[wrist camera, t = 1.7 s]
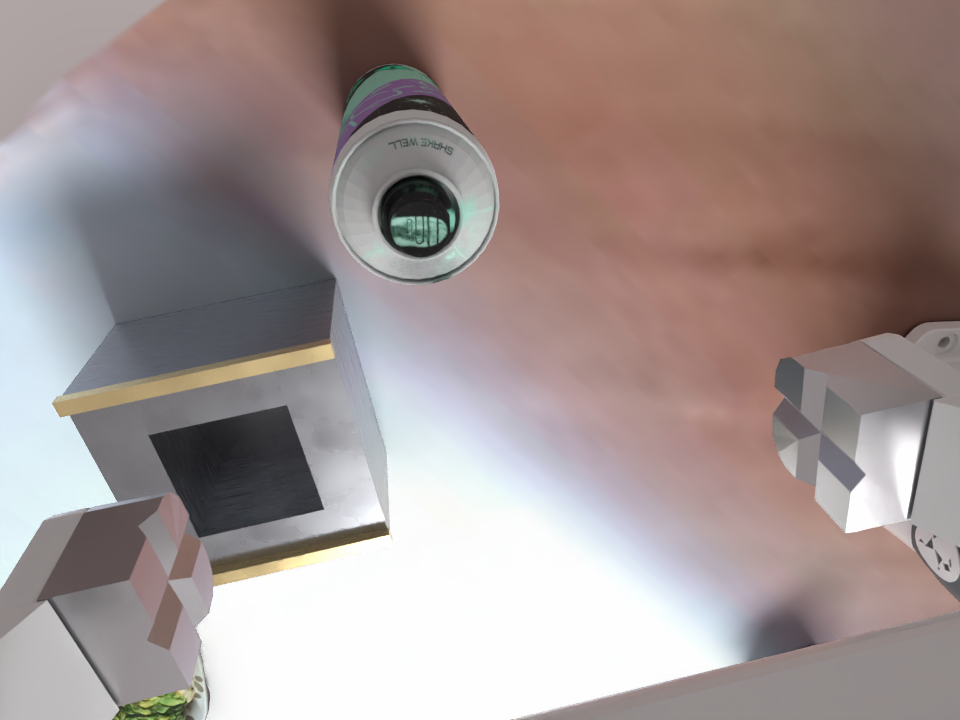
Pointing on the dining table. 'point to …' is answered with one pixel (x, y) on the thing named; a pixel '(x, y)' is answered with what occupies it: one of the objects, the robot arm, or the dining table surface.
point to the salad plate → (173, 702)
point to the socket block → (243, 428)
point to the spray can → (410, 180)
